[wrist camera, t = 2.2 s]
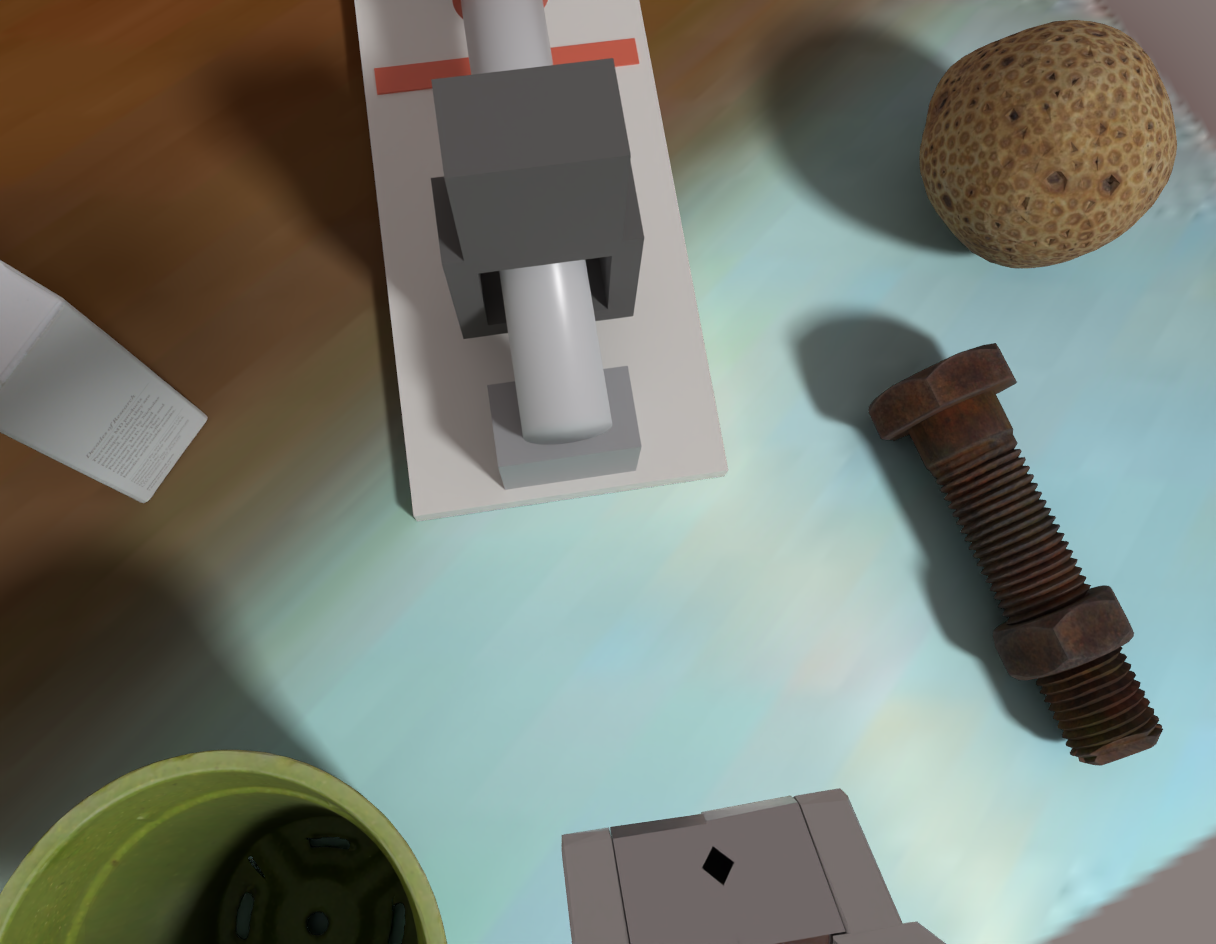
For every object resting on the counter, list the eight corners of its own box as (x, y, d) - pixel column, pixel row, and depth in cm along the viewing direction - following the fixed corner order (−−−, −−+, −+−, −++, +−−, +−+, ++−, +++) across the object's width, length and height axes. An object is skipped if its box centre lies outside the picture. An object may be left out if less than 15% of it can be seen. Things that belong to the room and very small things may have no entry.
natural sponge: (841, 167, 43) (918, 8, 34) (1019, 89, 45) (1142, -87, 35) (951, 349, 42) (1065, 236, 32) (1132, 262, 43) (1295, 127, 33)
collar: (633, 316, 39) (656, 151, 27) (463, 339, 38) (417, 181, 27) (620, 243, 39) (638, 54, 28) (454, 265, 39) (405, 82, 28)
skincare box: (20, 431, 40) (-209, 310, 28) (89, 343, 41) (-106, 189, 29) (148, 511, 39) (-32, 420, 27) (215, 419, 40) (68, 294, 28)
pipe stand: (724, 476, 40) (759, 418, 32) (417, 521, 39) (379, 472, 32) (616, -99, 46) (624, -260, 39) (349, -70, 46) (304, -229, 38)
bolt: (1053, 753, 40) (884, 408, 42) (1187, 709, 38) (1001, 350, 41) (1048, 797, 35) (856, 400, 37) (1204, 748, 33) (989, 333, 35)
